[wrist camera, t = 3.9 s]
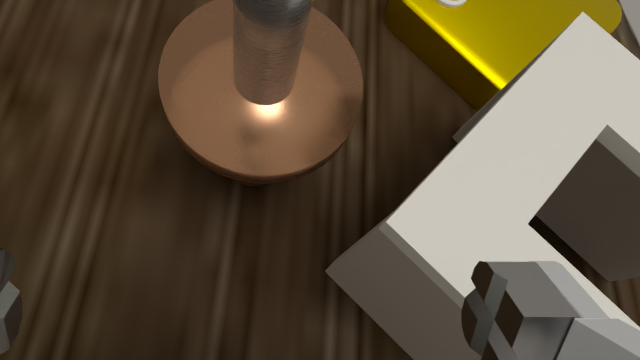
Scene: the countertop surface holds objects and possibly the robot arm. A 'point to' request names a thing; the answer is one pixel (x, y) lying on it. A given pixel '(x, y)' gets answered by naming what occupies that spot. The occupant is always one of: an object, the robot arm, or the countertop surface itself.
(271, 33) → the peg
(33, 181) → the countertop surface
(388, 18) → the element tile
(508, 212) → the slotted white pedestal
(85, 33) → the countertop surface
